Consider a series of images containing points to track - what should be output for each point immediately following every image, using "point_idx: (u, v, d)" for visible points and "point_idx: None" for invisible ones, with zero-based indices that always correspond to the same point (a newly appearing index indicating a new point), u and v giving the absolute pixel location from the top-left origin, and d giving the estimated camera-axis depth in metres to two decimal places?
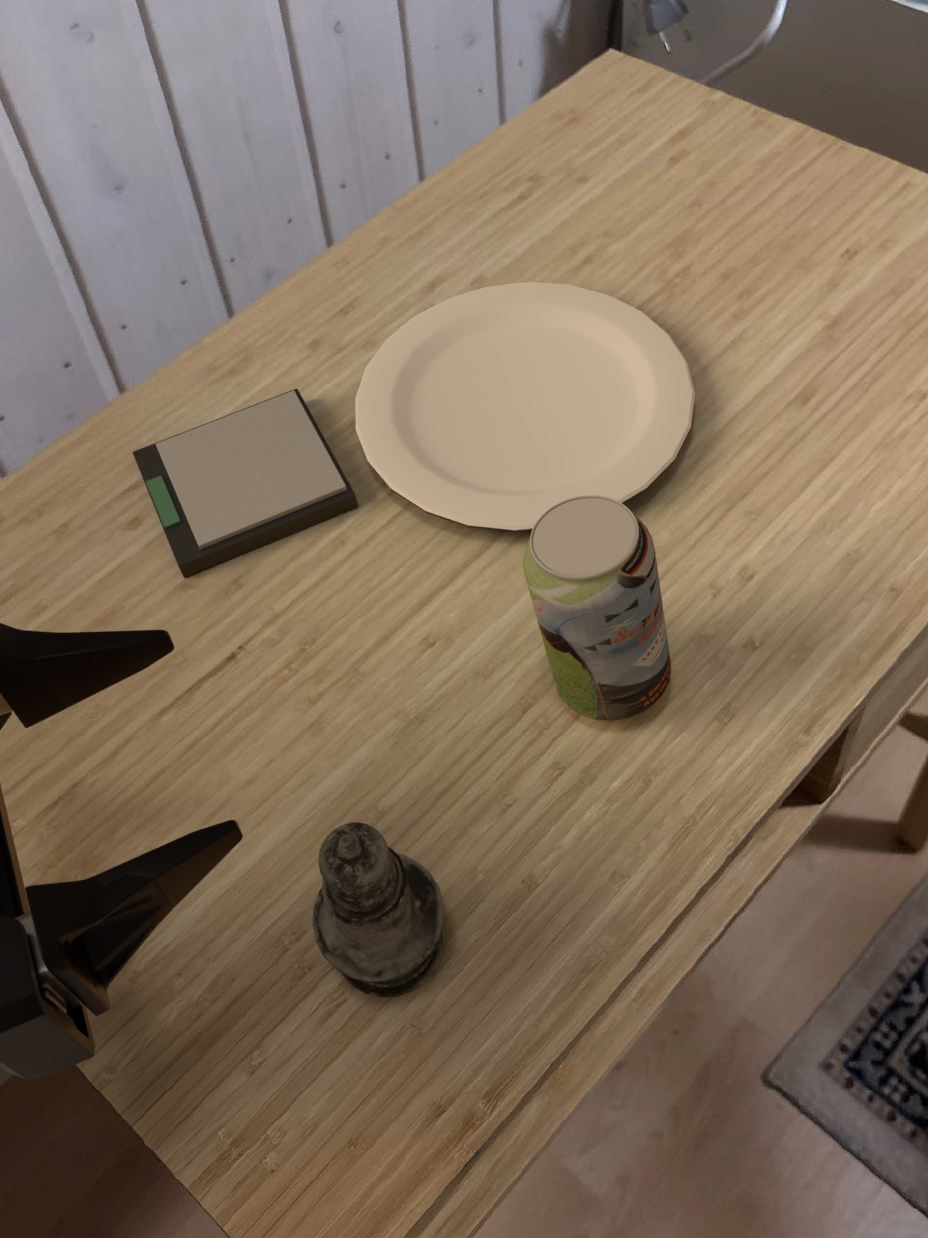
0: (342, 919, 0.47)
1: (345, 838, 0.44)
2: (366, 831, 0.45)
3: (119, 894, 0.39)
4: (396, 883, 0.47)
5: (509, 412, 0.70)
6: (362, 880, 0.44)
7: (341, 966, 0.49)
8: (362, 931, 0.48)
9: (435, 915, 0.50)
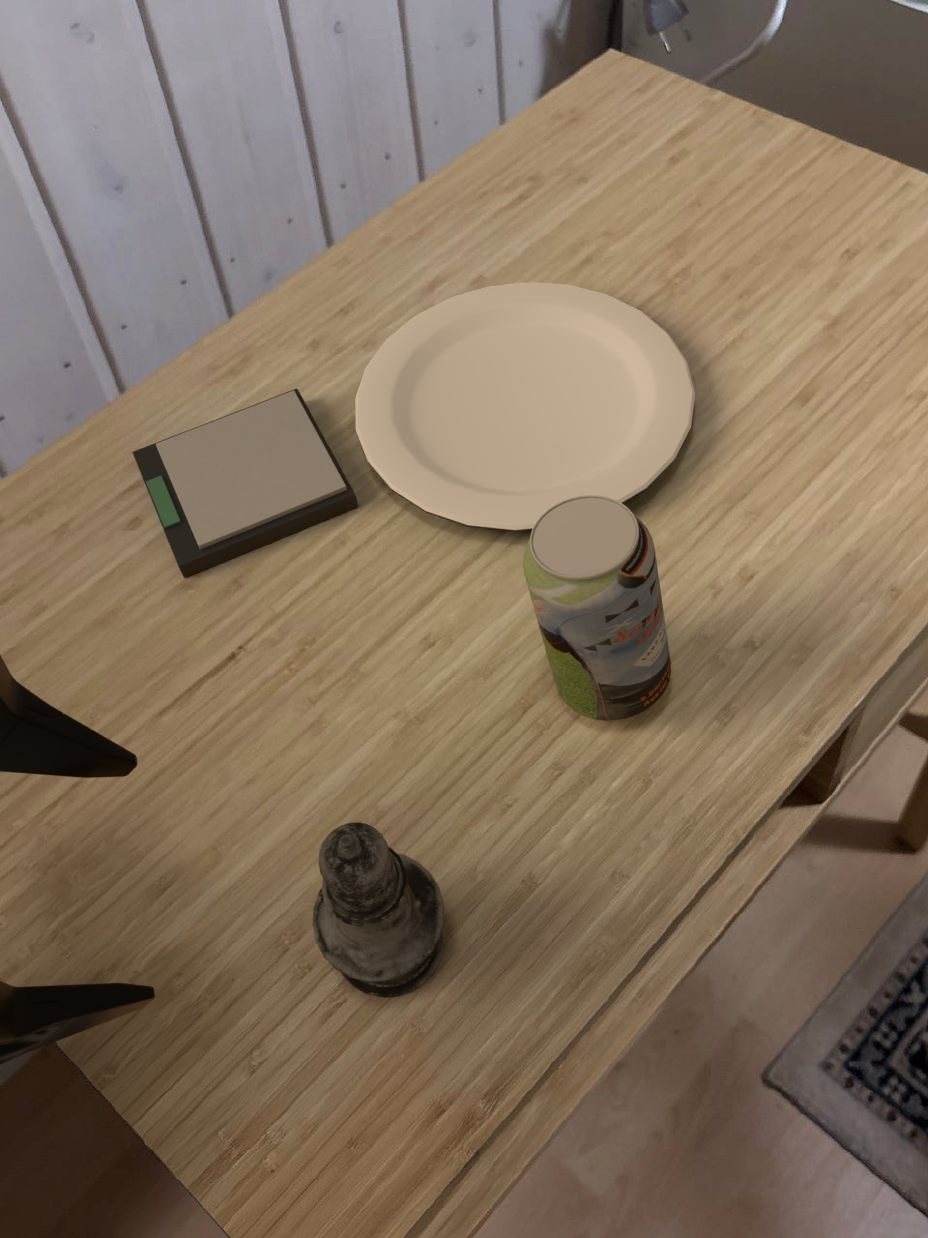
0: (342, 919, 0.47)
1: (345, 838, 0.44)
2: (366, 831, 0.45)
3: (42, 1019, 0.35)
4: (396, 883, 0.47)
5: (509, 412, 0.70)
6: (362, 880, 0.44)
7: (341, 966, 0.49)
8: (362, 931, 0.48)
9: (435, 915, 0.50)
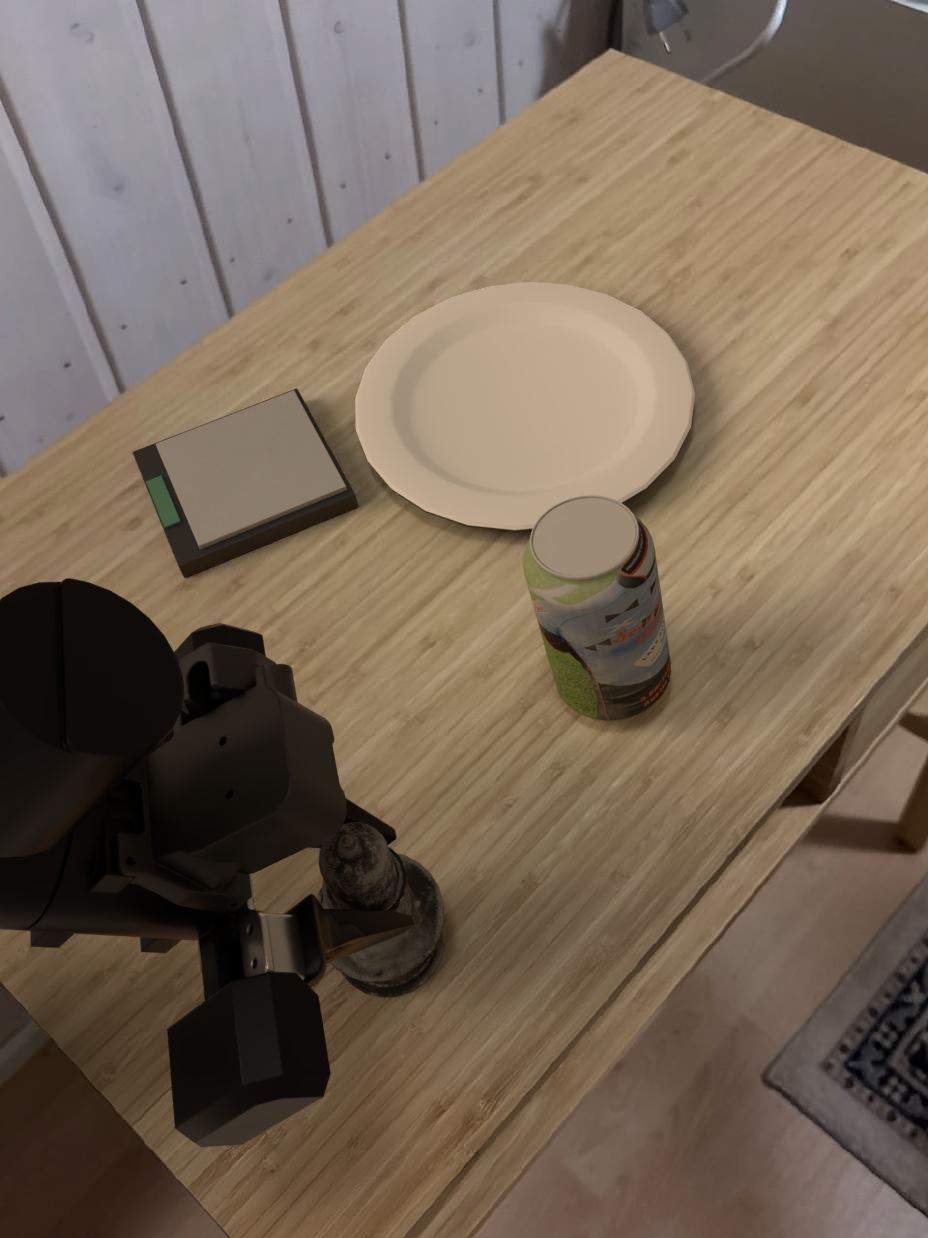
0: None
1: (345, 838, 0.44)
2: (366, 831, 0.45)
3: (345, 935, 0.43)
4: (396, 883, 0.47)
5: (509, 412, 0.70)
6: (362, 880, 0.44)
7: (341, 966, 0.49)
8: None
9: (435, 915, 0.50)
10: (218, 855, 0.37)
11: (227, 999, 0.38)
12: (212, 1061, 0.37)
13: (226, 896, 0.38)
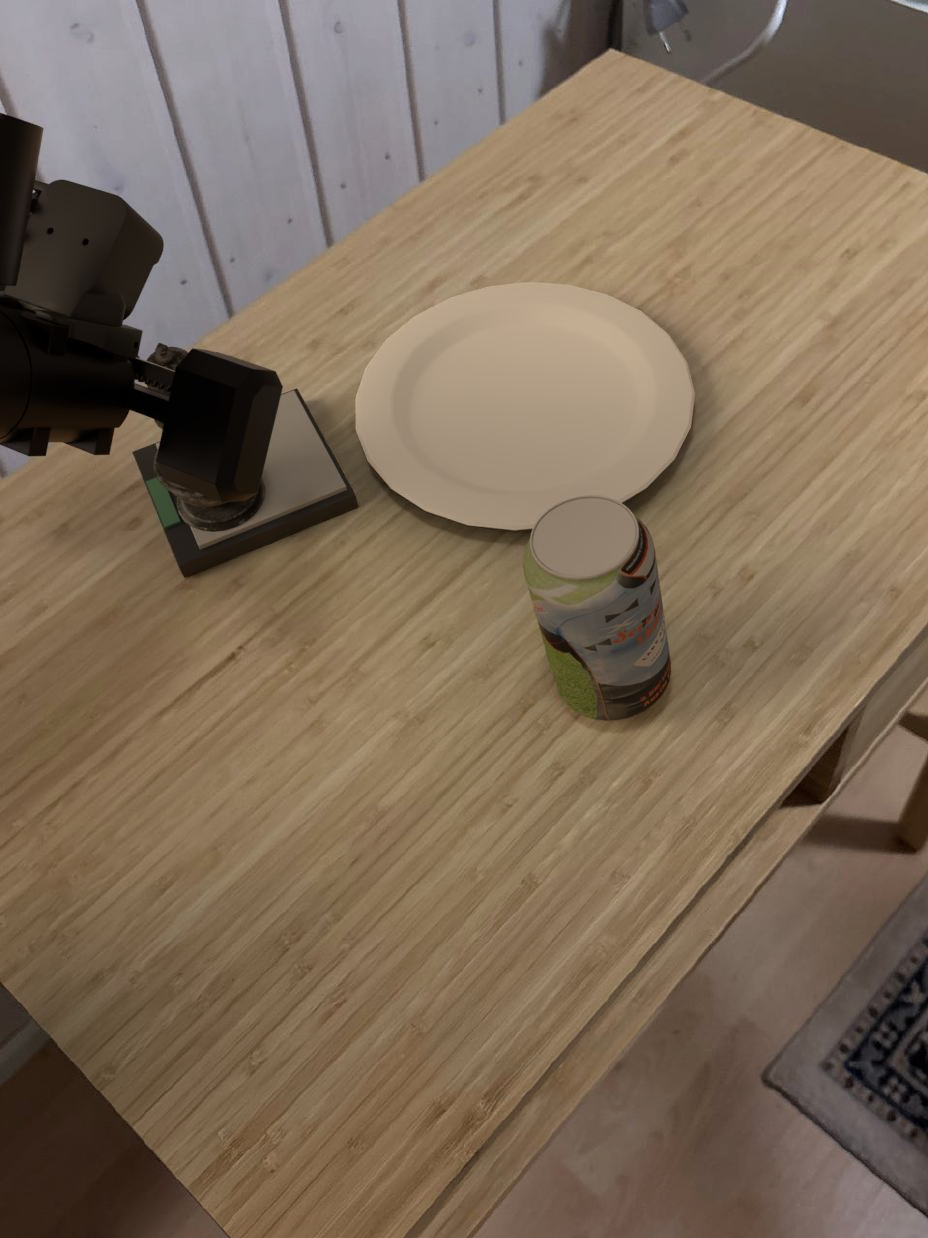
0: None
1: (159, 343, 0.58)
2: None
3: None
4: None
5: (509, 412, 0.70)
6: None
7: None
8: None
9: None
10: (108, 284, 0.50)
11: (182, 377, 0.51)
12: (205, 415, 0.51)
13: (129, 330, 0.51)
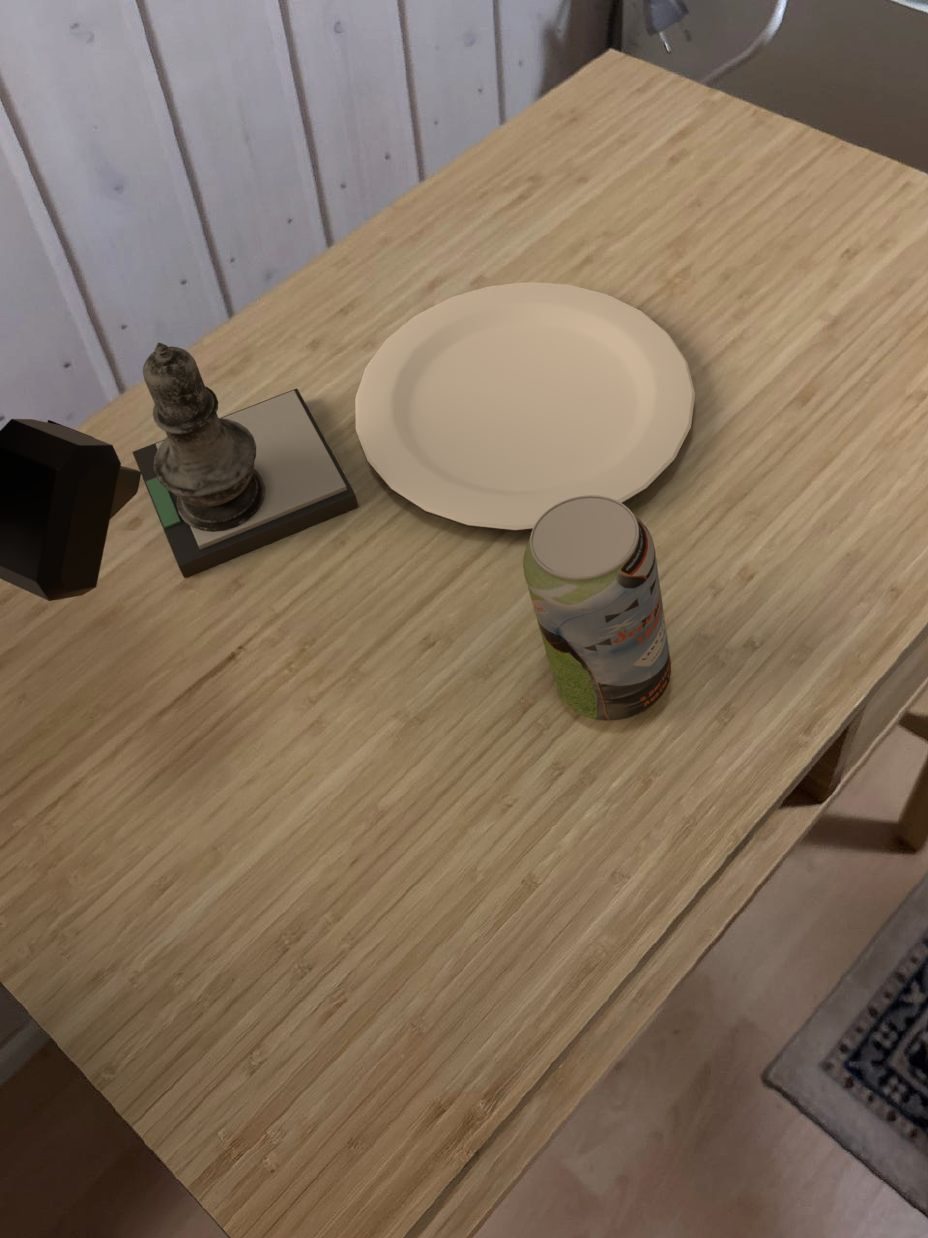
0: (192, 429, 0.61)
1: None
2: None
3: None
4: None
5: (509, 412, 0.70)
6: (188, 367, 0.59)
7: (211, 489, 0.63)
8: (207, 444, 0.62)
9: (239, 428, 0.65)
10: None
11: None
12: (23, 500, 0.42)
13: None
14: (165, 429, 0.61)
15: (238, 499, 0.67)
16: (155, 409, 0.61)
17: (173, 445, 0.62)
